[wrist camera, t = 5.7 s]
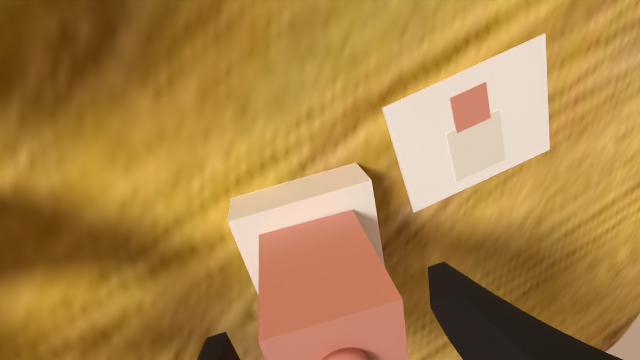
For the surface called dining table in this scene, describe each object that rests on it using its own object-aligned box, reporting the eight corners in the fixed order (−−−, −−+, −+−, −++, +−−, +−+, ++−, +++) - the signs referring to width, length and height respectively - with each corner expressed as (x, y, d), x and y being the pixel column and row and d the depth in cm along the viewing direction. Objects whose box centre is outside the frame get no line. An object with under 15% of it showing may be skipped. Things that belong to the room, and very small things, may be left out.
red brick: (364, 280, 14) (417, 398, 10) (282, 303, 14) (294, 438, 9) (352, 209, 13) (409, 310, 8) (258, 234, 12) (258, 356, 8)
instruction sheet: (548, 149, 16) (550, 150, 16) (412, 211, 16) (414, 213, 16) (543, 33, 14) (546, 33, 13) (381, 107, 13) (382, 108, 13)
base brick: (370, 255, 17) (387, 285, 15) (267, 287, 17) (270, 324, 15) (353, 159, 15) (371, 180, 12) (231, 194, 14) (227, 222, 12)
